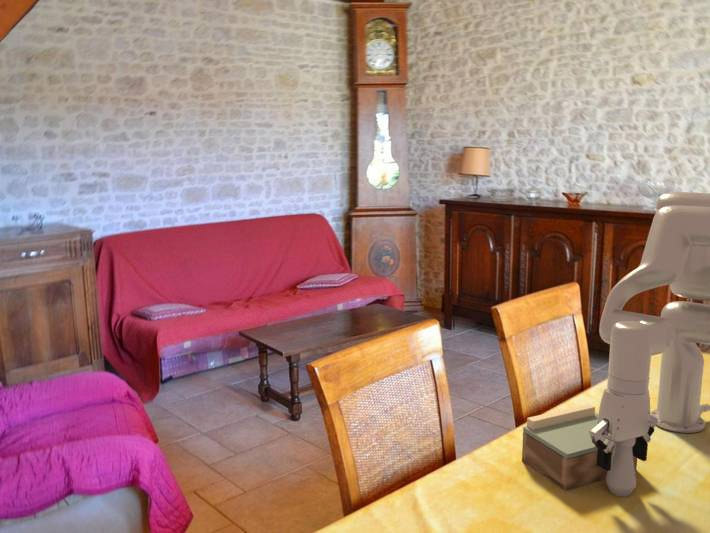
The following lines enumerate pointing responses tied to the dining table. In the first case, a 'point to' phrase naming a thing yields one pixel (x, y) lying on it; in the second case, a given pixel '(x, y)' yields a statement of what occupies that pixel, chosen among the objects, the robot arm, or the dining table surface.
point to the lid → (565, 430)
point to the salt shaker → (622, 469)
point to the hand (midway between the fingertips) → (621, 463)
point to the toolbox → (563, 464)
